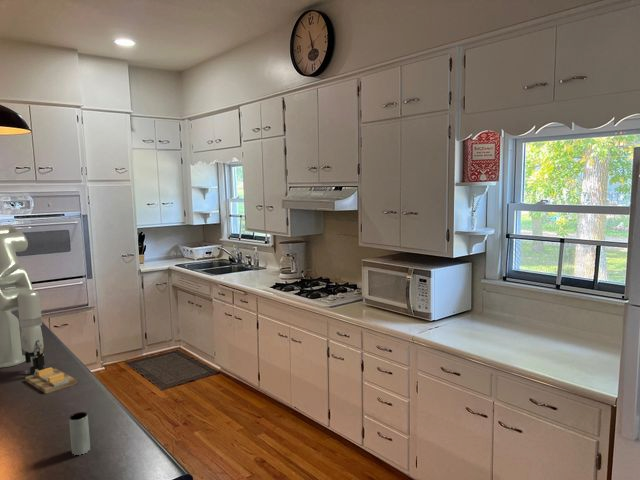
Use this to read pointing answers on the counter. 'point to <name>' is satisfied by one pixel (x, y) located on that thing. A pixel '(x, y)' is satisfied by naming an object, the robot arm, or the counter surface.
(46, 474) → the counter surface
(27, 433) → the counter surface
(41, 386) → the din panel
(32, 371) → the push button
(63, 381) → the din rail
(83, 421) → the planter
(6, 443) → the counter surface
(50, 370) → the end stops
